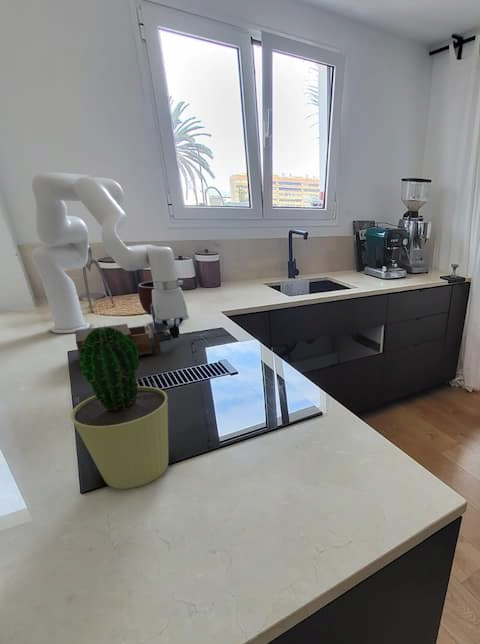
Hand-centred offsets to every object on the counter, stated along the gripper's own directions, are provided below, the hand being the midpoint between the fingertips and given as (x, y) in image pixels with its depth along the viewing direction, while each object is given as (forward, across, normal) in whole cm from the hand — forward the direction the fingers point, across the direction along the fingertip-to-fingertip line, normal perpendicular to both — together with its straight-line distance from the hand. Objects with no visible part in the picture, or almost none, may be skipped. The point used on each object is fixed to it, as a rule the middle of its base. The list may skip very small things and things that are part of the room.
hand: (175, 337), depth 138 cm
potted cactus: (+4, +21, +68) cm, 72 cm away
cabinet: (+4, +21, 0) cm, 21 cm away
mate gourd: (+4, -1, -29) cm, 29 cm away
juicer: (+4, +20, -72) cm, 75 cm away
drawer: (+3, +11, 0) cm, 11 cm away
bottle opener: (+4, +3, -13) cm, 13 cm away
